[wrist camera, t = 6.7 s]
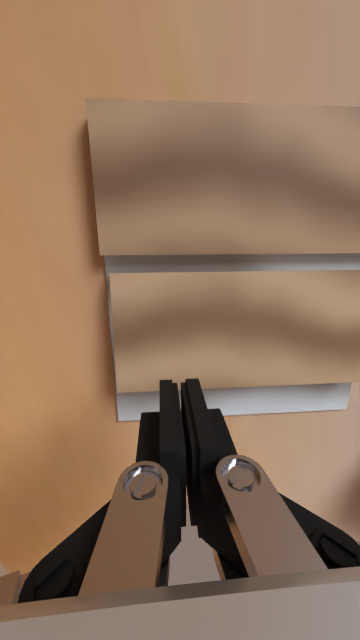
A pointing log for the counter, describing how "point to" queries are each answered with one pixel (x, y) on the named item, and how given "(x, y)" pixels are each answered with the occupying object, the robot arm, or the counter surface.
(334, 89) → the counter surface
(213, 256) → the laid floor
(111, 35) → the counter surface
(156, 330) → the plank
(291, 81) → the counter surface
